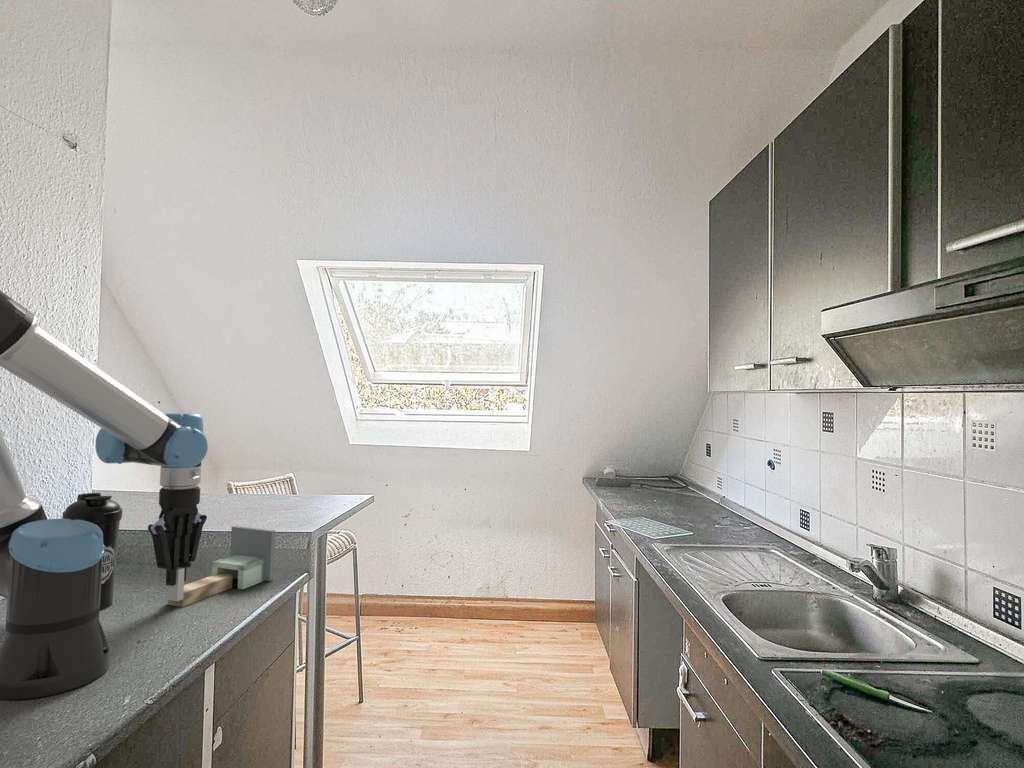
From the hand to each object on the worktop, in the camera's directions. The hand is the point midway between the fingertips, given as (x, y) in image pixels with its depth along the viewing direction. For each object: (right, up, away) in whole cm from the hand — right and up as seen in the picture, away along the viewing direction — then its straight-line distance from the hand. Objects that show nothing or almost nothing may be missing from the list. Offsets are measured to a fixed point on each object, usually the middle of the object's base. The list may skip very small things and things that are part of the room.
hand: (175, 599), depth 123 cm
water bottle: (-17, -1, -1) cm, 17 cm away
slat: (+1, -2, +8) cm, 8 cm away
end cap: (+5, -2, +17) cm, 18 cm away
